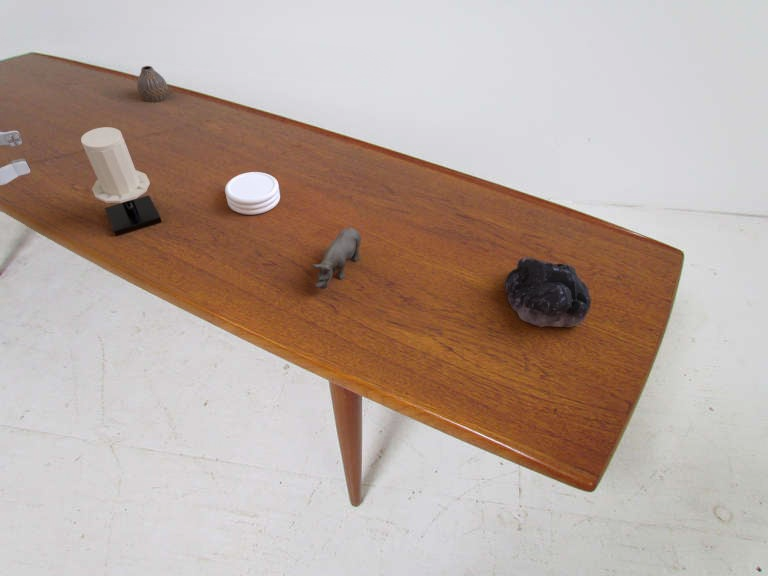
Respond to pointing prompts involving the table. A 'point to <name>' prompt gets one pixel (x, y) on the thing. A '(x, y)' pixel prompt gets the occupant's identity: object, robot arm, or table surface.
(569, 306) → the crystal cluster
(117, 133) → the hat
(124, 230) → the stand
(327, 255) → the rhino figurine
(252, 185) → the white round stack
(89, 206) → the table surface
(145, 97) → the vase
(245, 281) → the table surface
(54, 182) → the table surface
